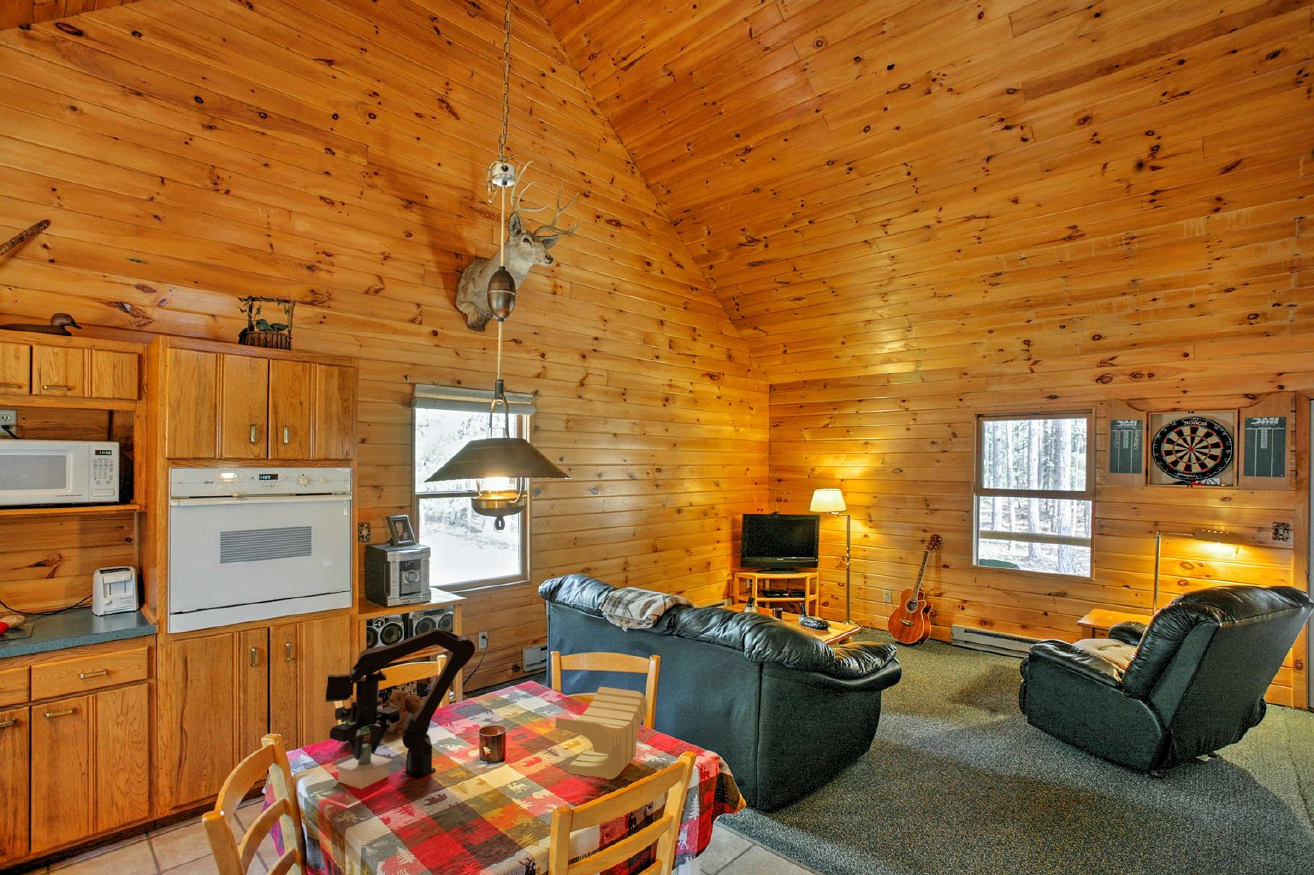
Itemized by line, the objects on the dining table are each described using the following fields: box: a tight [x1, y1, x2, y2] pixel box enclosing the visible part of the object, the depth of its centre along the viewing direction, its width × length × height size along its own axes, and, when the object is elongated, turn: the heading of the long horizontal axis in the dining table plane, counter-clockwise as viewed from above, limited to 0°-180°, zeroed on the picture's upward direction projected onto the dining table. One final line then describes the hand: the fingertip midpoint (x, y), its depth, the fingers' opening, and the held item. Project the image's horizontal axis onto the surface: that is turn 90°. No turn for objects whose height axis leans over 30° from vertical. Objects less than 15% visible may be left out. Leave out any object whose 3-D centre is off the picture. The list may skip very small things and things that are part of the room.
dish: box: [337, 764, 390, 790], centre depth 185 cm, size 9×9×4 cm
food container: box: [345, 704, 384, 744], centre depth 212 cm, size 12×6×10 cm, turn 143°
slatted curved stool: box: [554, 686, 648, 780], centre depth 197 cm, size 30×16×18 cm, turn 161°
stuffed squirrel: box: [384, 688, 424, 736], centre depth 224 cm, size 10×14×13 cm
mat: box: [331, 752, 390, 766], centre depth 197 cm, size 11×11×1 cm
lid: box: [335, 743, 393, 777], centre depth 186 cm, size 10×10×5 cm
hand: (364, 756), depth 186 cm, fingers open, 5 cm apart
